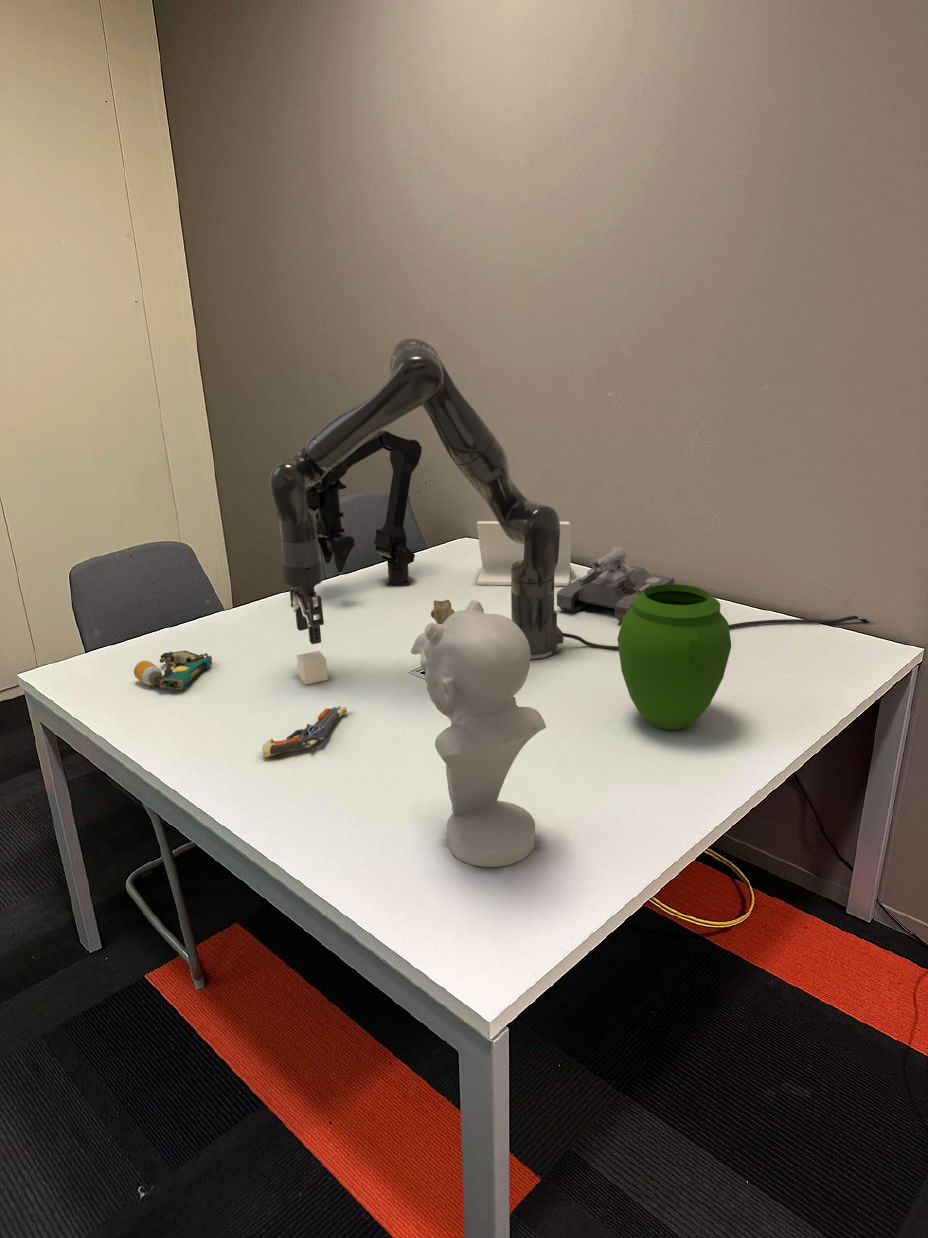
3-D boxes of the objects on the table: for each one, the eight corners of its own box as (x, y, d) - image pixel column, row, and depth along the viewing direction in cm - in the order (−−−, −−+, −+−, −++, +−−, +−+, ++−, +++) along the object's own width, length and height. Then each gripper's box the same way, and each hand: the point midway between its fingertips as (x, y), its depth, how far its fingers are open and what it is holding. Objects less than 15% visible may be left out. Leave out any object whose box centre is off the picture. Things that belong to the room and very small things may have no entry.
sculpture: (458, 662, 183) (456, 596, 178) (460, 676, 176) (457, 608, 171) (431, 663, 183) (428, 597, 177) (431, 677, 176) (428, 609, 171)
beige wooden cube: (321, 671, 181) (319, 650, 179) (328, 679, 177) (326, 658, 175) (299, 676, 179) (296, 655, 177) (305, 684, 175) (303, 662, 173)
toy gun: (257, 746, 146) (311, 744, 144) (298, 704, 164) (347, 701, 161) (260, 761, 146) (314, 759, 144) (300, 717, 164) (349, 715, 162)
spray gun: (177, 659, 191) (231, 671, 185) (120, 684, 176) (176, 698, 171) (176, 641, 190) (230, 653, 184) (118, 665, 175) (174, 678, 169)
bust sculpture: (481, 772, 140) (476, 569, 128) (565, 848, 120) (569, 617, 108) (392, 800, 134) (378, 588, 121) (465, 886, 114) (457, 642, 101)
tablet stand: (569, 585, 229) (570, 524, 223) (476, 584, 232) (475, 523, 226) (570, 566, 246) (571, 508, 240) (484, 564, 249) (483, 507, 243)
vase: (737, 711, 158) (749, 586, 150) (704, 757, 143) (715, 621, 134) (638, 689, 168) (643, 571, 160) (597, 730, 153) (601, 602, 144)
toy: (603, 584, 229) (605, 530, 224) (673, 597, 218) (677, 540, 213) (555, 612, 210) (556, 553, 205) (630, 627, 199) (633, 566, 194)
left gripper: (287, 505, 220) (293, 563, 226) (309, 520, 204) (315, 582, 210) (328, 499, 225) (333, 556, 230) (353, 514, 209) (357, 574, 215)
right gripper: (273, 554, 173) (281, 628, 179) (293, 572, 161) (301, 651, 167) (308, 548, 176) (315, 622, 182) (331, 566, 164) (338, 643, 170)
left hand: (333, 567), depth 221 cm, fingers open, 9 cm apart
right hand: (309, 636), depth 175 cm, fingers open, 8 cm apart
